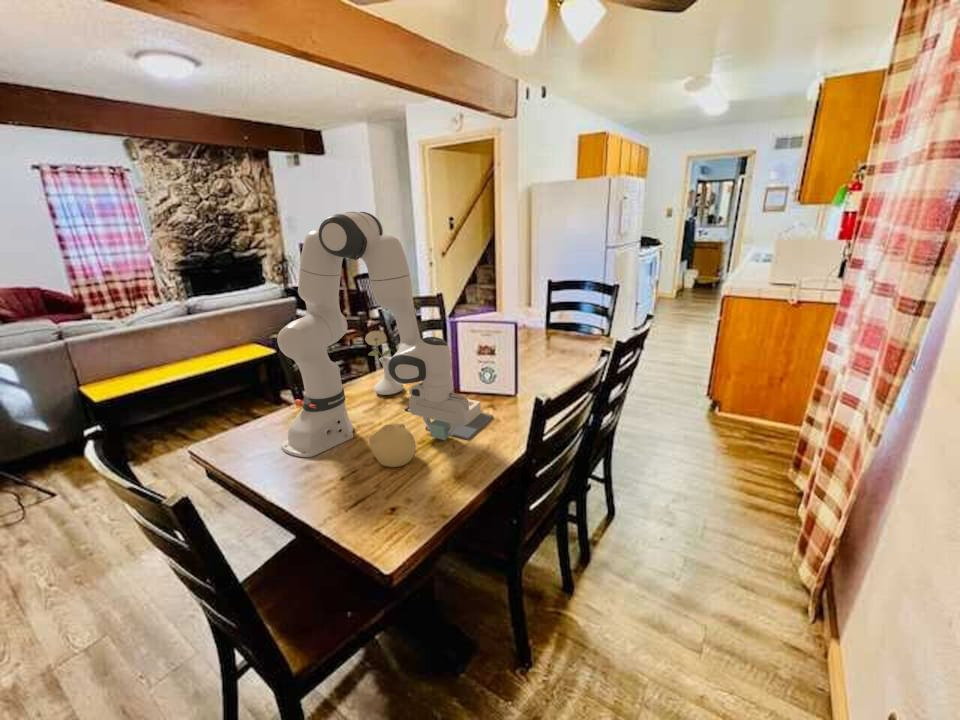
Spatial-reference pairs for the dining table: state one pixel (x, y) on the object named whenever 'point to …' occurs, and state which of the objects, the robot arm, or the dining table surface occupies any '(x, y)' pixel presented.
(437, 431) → the stub
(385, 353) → the flower in vase
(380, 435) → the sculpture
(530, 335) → the dining table surface
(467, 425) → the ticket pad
